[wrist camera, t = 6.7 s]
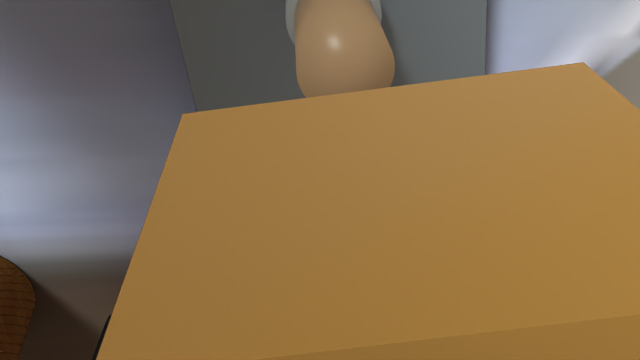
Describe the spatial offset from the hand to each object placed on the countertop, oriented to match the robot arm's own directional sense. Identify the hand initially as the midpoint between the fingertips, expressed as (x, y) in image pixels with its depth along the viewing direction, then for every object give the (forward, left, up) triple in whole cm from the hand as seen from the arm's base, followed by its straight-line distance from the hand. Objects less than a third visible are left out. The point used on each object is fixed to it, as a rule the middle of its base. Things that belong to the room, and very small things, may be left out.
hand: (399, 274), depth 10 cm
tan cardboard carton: (0, 0, -1) cm, 1 cm away
